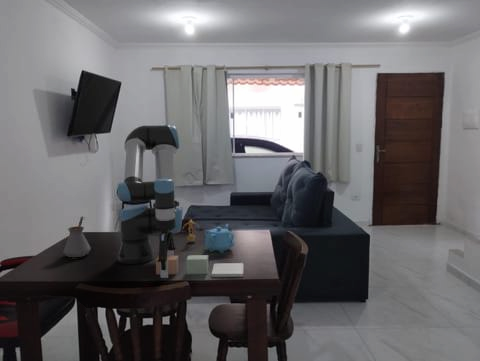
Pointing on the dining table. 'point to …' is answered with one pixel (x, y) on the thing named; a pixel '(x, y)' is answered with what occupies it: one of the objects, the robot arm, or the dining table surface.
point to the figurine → (191, 237)
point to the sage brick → (197, 264)
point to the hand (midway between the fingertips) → (167, 271)
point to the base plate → (227, 270)
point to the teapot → (219, 239)
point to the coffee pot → (76, 242)
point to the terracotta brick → (169, 265)
